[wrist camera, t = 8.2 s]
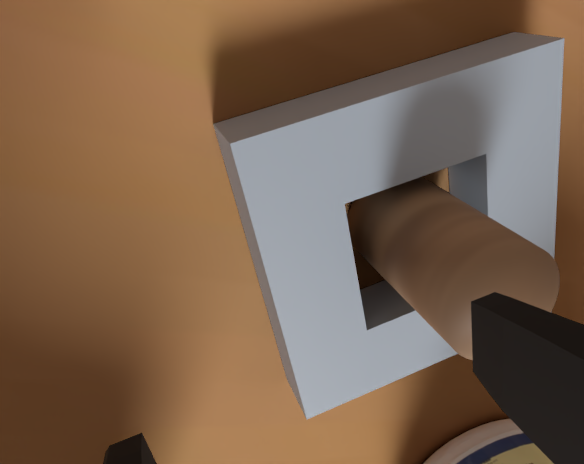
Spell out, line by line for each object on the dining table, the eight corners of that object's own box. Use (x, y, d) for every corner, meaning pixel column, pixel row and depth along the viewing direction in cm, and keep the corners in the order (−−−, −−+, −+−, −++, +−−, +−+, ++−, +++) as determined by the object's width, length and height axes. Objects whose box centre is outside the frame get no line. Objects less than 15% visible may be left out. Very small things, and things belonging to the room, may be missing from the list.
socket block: (513, 285, 26) (551, 312, 24) (287, 379, 24) (306, 419, 21) (513, 31, 20) (564, 38, 18) (213, 123, 18) (230, 143, 16)
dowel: (437, 239, 23) (558, 330, 17) (355, 272, 22) (451, 379, 16) (429, 156, 21) (562, 226, 15) (339, 189, 20) (441, 276, 14)
